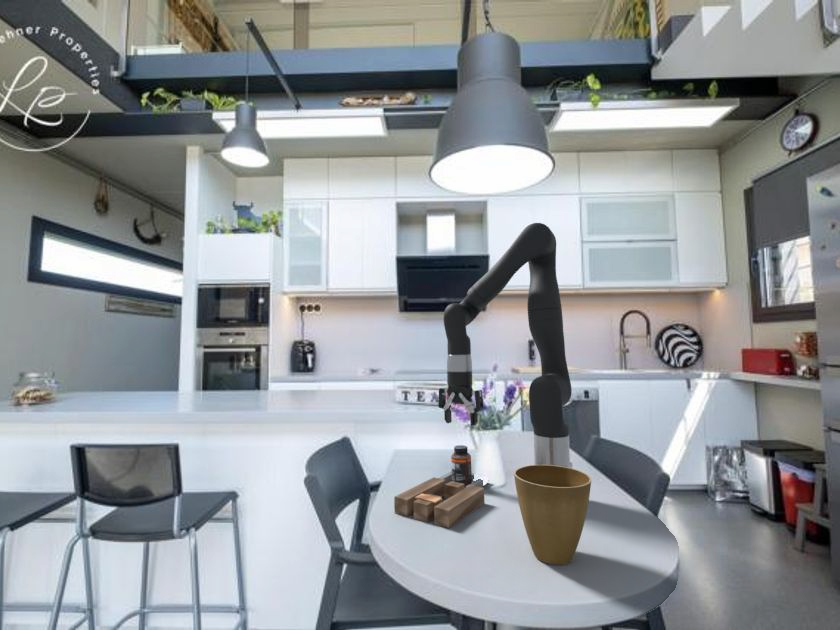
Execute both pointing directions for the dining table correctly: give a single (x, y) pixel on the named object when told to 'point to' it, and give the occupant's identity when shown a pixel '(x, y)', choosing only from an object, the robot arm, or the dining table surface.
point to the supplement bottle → (461, 465)
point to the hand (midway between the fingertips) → (460, 424)
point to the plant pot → (553, 509)
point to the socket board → (439, 501)
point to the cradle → (476, 483)
